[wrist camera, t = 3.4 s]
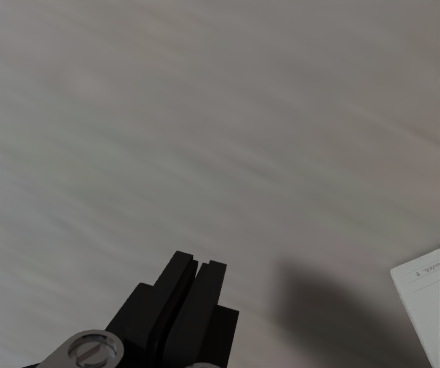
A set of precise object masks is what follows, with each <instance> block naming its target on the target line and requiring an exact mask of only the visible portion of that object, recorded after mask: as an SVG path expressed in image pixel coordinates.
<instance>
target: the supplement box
mask: <svg viewBox="0 0 440 368" xmlns="http://www.w3.org/2000/svg"><path fill="white" fill-rule="evenodd" d="M390 273H391V277H392V280H393V282H394V284H395V287H396V289H397V291H398V294H399V296H400V298H401V300H402V303H403V305H404V307H405V309H406V311H407V313H408V316H409V318H410V320H411V322H412V324H413V326H414V328H415V331H416V333H417V335H418V337H419V339H420V342H421V344H422V346H423V348H424V350H425V353H426V355H427V357H428V359H429V362H430V364H431V366H432V368H440V249H437V250H435V251H433V252H430V253H428V254H426V255H423V256H421V257H419V258H416V259H414V260H411V261H409V262H406V263H404V264H402V265H399V266H397V267H395V268H392V269H391V271H390Z"/></svg>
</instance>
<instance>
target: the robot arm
mask: <svg viewBox="0 0 440 368" xmlns="http://www.w3.org/2000/svg"><path fill="white" fill-rule="evenodd" d="M226 266H227V264H223V263H219V262H216V261H212V260H210V262H209V264H206V263H202V266H201V268H200V270H199V272H198V274H197V276H196V271H197V267H198V261H196V260H193V255H191V254H187V253H184V252H180V251H176V252H175V254H174V255H173V257H172V258H171V260H170V261H169V263H168V265H167V266H166V268H165V269H164V271H163V272H162V274H161V275H160V277H159V278H158V280H157V281H156V283H155V284H154V286H152V285H148V284H145V283H139V284H138V286H137V287H136V288H135V290H134V291H133V292H132V294H131V295H130V296H129V298H128V299H127V300H126V302H125V303H124V304H123V306H122V307H121V309H120V310H119V311H118V313H117V314H116V315H115V317H114V318H113V319H112V321H111V322H110V323H109V325H108V326H107V328H106V329H105V330H94V329H93V330H86V331H82V332H80V333H77V334H75V335H73V336H72V337H70V338H69V339H68V340H66V341H65V342H64V343H63V344H62V345H61V346H60V347H58V348H57V349H56V350H55V351H54V352H53V353H52V354H50V355H49V356H48V357H47V358H46V359H45V360H44V361H43V362H41V363H38V364H34V365H30V366H27V367H23V368H227V364H228V360H229V355H230V351H231V346H232V342H233V338H234V333H235V329H236V324H237V320H238V315H239V311H237V310H233V309H230V308H226V307H223V306H220V305H217V304H218V300H219V296H220V292H221V288H222V284H223V279H224V275H225V271H226ZM195 276H196V278H195Z"/></svg>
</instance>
